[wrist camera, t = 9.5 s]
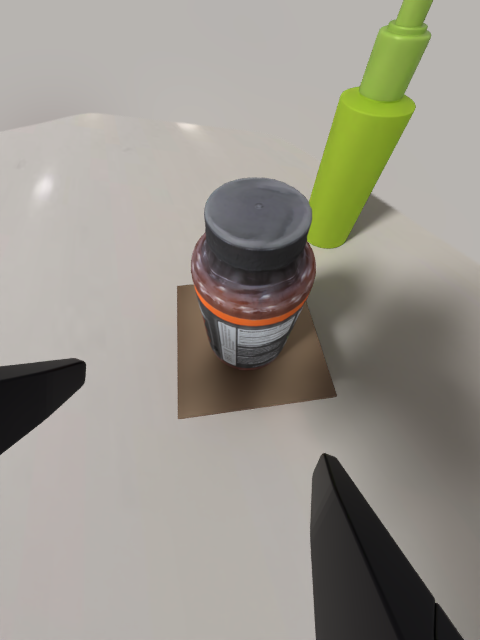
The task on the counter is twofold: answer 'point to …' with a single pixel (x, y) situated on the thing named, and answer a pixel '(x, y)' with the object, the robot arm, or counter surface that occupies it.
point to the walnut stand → (245, 385)
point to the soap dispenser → (367, 127)
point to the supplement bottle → (253, 269)
